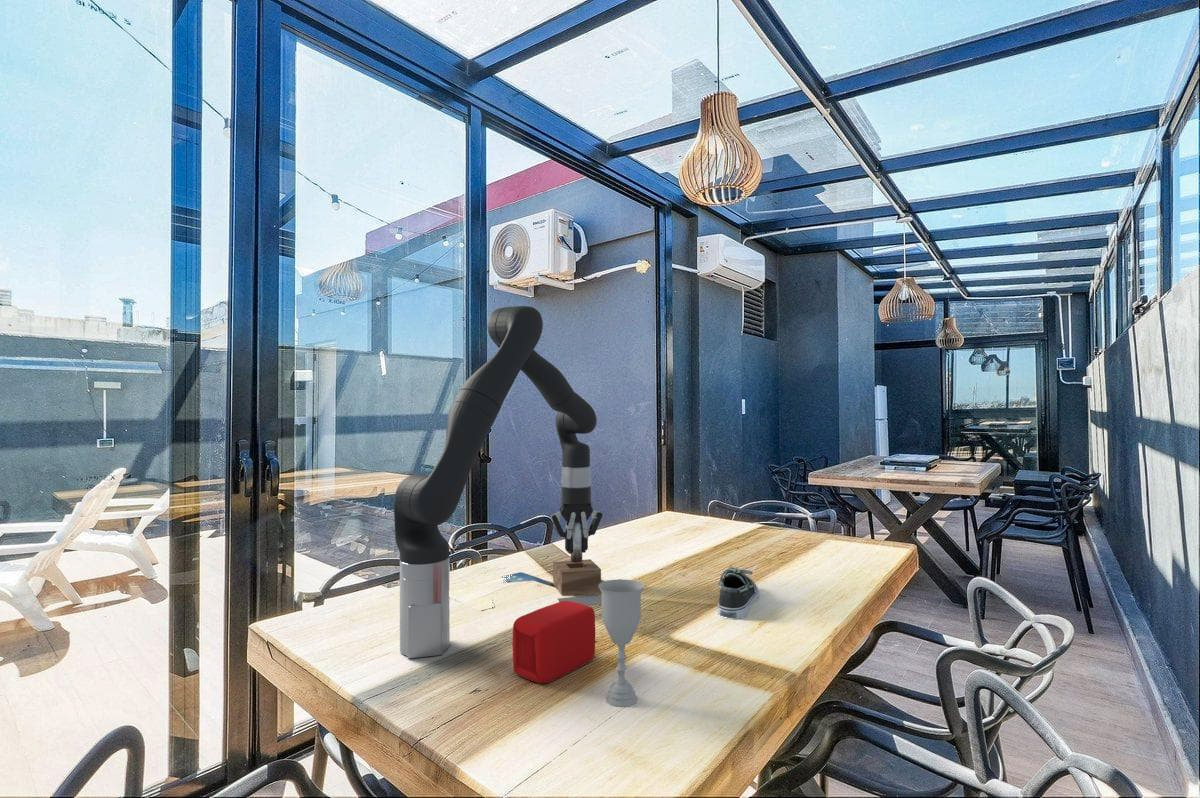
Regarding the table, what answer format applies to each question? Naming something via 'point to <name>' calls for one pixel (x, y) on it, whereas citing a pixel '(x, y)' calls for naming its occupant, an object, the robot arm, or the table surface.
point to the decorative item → (553, 641)
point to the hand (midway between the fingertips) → (576, 552)
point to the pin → (576, 543)
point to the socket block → (576, 577)
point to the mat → (584, 600)
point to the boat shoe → (736, 593)
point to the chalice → (621, 630)
